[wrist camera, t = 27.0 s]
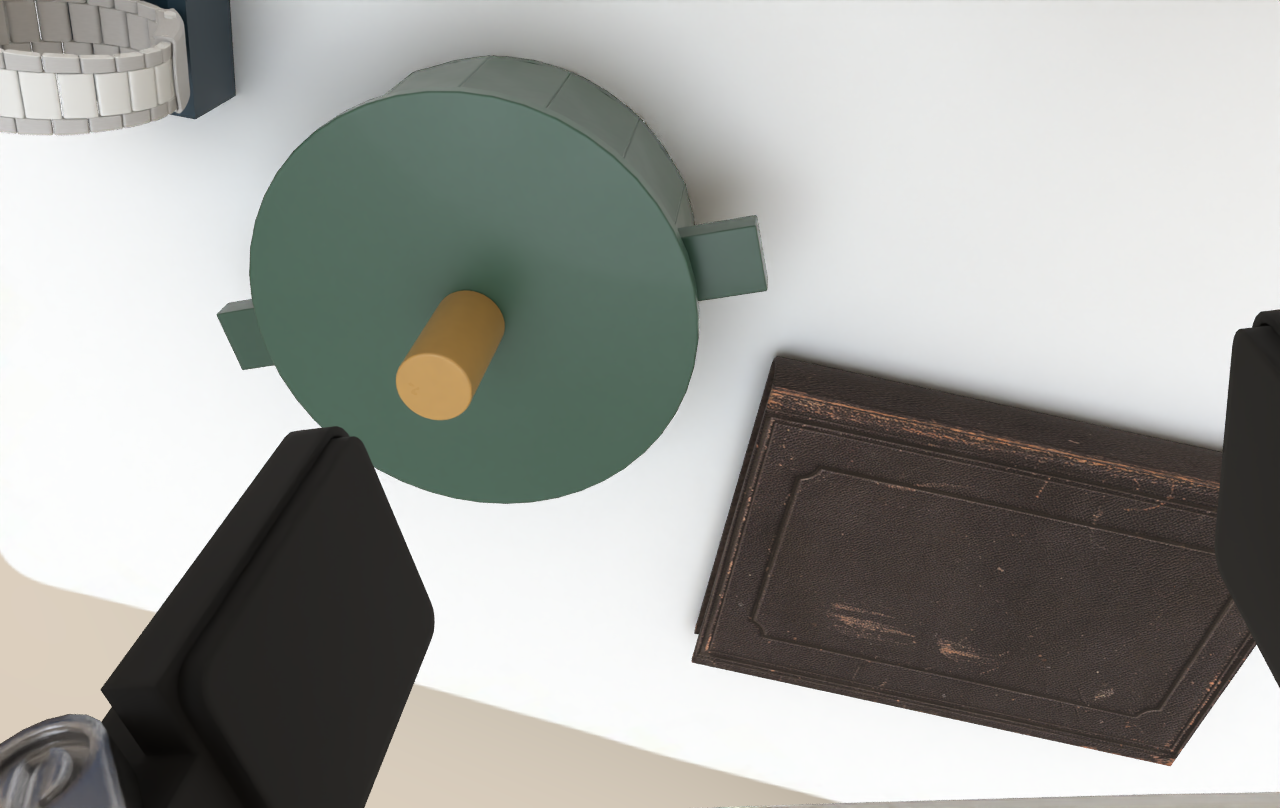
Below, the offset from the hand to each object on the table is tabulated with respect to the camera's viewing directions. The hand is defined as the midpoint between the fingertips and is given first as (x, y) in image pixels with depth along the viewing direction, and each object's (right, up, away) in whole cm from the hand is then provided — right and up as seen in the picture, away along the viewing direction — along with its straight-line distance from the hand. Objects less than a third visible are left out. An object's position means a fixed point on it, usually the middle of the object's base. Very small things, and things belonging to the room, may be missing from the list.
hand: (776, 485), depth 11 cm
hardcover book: (+14, -6, +35) cm, 38 cm away
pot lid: (-7, +4, +24) cm, 26 cm away
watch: (-19, +15, +26) cm, 36 cm away
